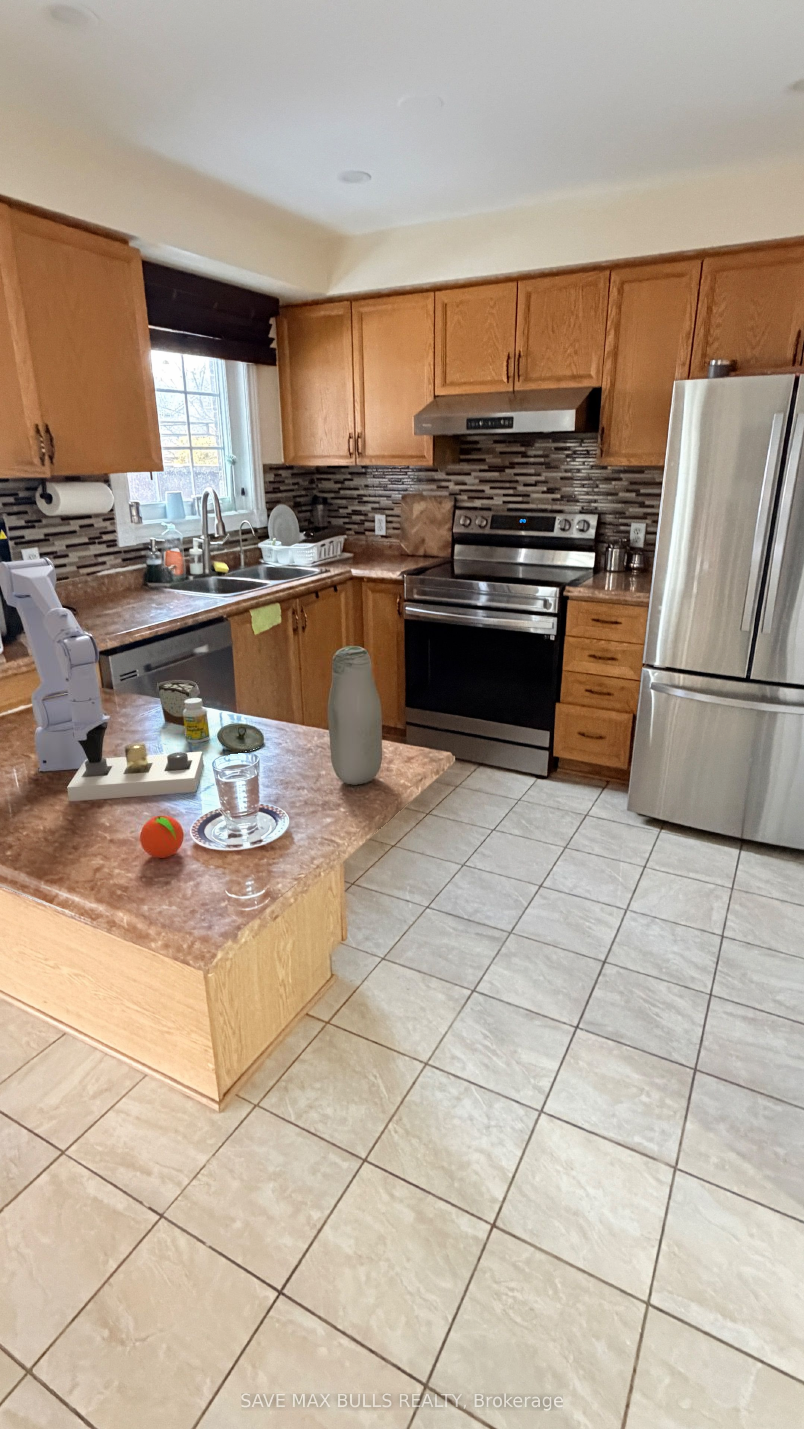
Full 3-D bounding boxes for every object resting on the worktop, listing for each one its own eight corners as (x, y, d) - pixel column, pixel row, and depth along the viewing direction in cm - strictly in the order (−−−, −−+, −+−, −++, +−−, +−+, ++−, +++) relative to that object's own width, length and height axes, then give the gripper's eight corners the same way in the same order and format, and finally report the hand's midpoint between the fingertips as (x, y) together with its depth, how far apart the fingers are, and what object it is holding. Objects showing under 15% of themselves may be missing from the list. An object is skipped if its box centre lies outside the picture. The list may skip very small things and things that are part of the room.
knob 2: (168, 783, 153) (165, 760, 151) (171, 775, 157) (168, 753, 155) (188, 781, 153) (186, 759, 152) (191, 773, 157) (188, 751, 155)
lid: (248, 734, 179) (246, 714, 177) (273, 744, 173) (272, 724, 171) (210, 747, 172) (207, 726, 170) (235, 757, 165) (233, 736, 164)
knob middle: (126, 774, 151) (122, 751, 149) (130, 766, 155) (126, 743, 153) (146, 772, 151) (143, 749, 150) (150, 764, 155) (146, 742, 154)
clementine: (197, 855, 125) (193, 817, 123) (160, 872, 120) (154, 833, 118) (171, 840, 130) (166, 803, 128) (134, 856, 125) (128, 818, 123)
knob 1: (86, 788, 151) (82, 765, 149) (91, 780, 155) (87, 758, 153) (107, 787, 151) (103, 764, 150) (111, 779, 155) (108, 756, 153)
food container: (213, 721, 188) (209, 683, 185) (195, 729, 183) (190, 690, 180) (179, 714, 194) (174, 676, 191) (160, 721, 189) (155, 683, 186)
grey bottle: (350, 768, 159) (344, 638, 149) (391, 777, 154) (388, 644, 144) (322, 785, 151) (314, 649, 141) (365, 796, 146) (359, 656, 136)
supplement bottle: (210, 734, 180) (206, 696, 176) (208, 742, 174) (204, 703, 171) (187, 735, 179) (183, 697, 176) (184, 744, 174) (179, 704, 171)
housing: (69, 801, 146) (67, 787, 145) (87, 772, 159) (85, 759, 158) (196, 791, 149) (194, 777, 148) (203, 764, 162) (202, 751, 161)
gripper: (97, 707, 141) (108, 774, 145) (114, 685, 154) (123, 746, 159) (57, 710, 140) (69, 777, 144) (78, 687, 153) (88, 749, 158)
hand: (95, 761), depth 151 cm, fingers closed, pressing on knob 1
